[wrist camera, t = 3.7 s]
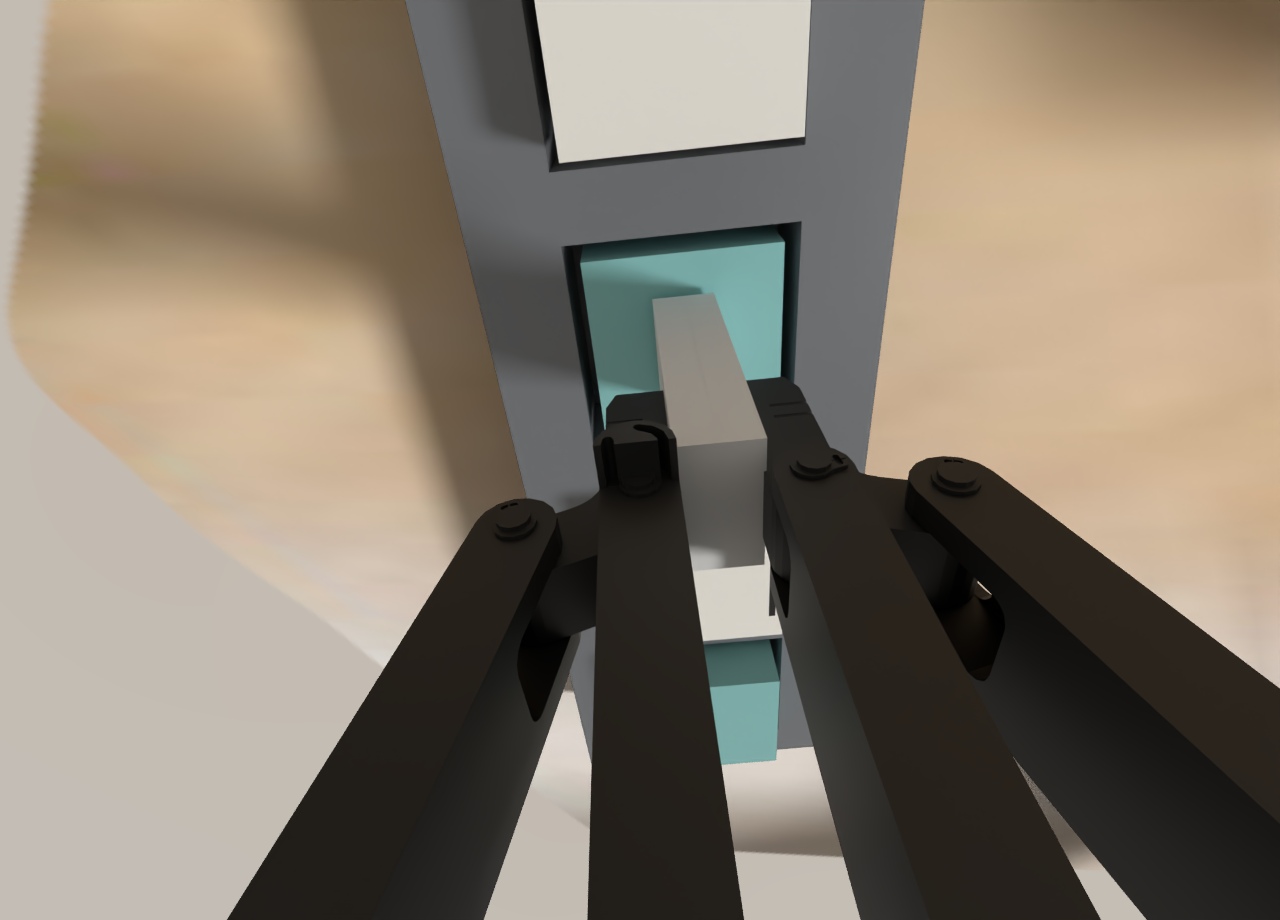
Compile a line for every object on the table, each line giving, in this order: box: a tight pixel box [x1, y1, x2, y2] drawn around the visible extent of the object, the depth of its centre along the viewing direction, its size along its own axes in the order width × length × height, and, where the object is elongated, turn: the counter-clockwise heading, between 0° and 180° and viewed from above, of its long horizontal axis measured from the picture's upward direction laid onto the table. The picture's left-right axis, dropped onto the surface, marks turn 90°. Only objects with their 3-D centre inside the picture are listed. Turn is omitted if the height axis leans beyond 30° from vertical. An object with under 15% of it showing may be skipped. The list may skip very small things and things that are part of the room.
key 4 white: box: [534, 0, 811, 163], centre depth 12 cm, size 5×5×2 cm
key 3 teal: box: [580, 224, 785, 429], centre depth 17 cm, size 5×5×2 cm
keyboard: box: [405, 0, 925, 763], centre depth 20 cm, size 30×10×4 cm, turn 5°
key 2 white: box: [693, 547, 782, 641], centre depth 20 cm, size 5×5×2 cm
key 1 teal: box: [704, 639, 780, 765], centre depth 24 cm, size 5×5×2 cm
